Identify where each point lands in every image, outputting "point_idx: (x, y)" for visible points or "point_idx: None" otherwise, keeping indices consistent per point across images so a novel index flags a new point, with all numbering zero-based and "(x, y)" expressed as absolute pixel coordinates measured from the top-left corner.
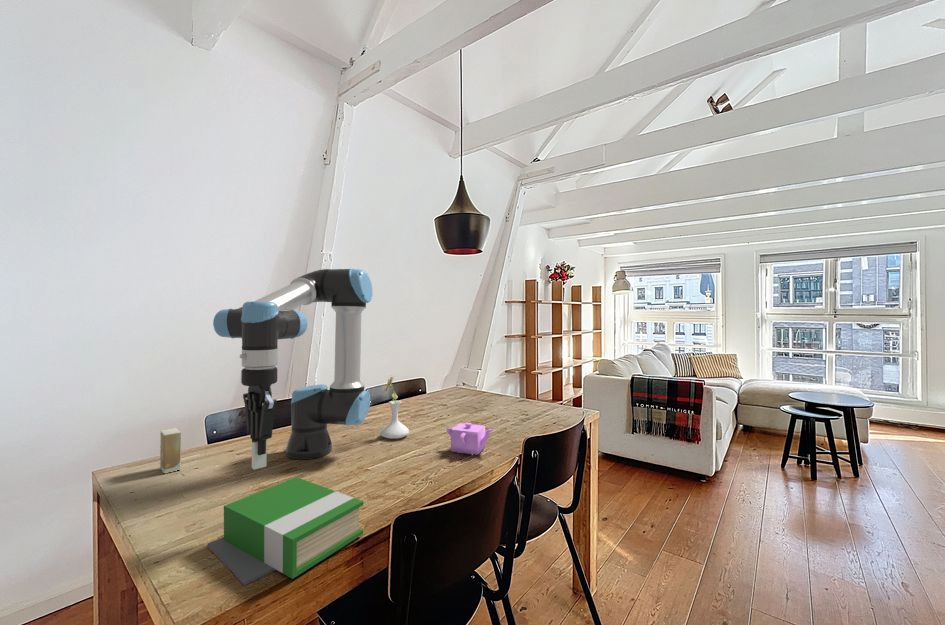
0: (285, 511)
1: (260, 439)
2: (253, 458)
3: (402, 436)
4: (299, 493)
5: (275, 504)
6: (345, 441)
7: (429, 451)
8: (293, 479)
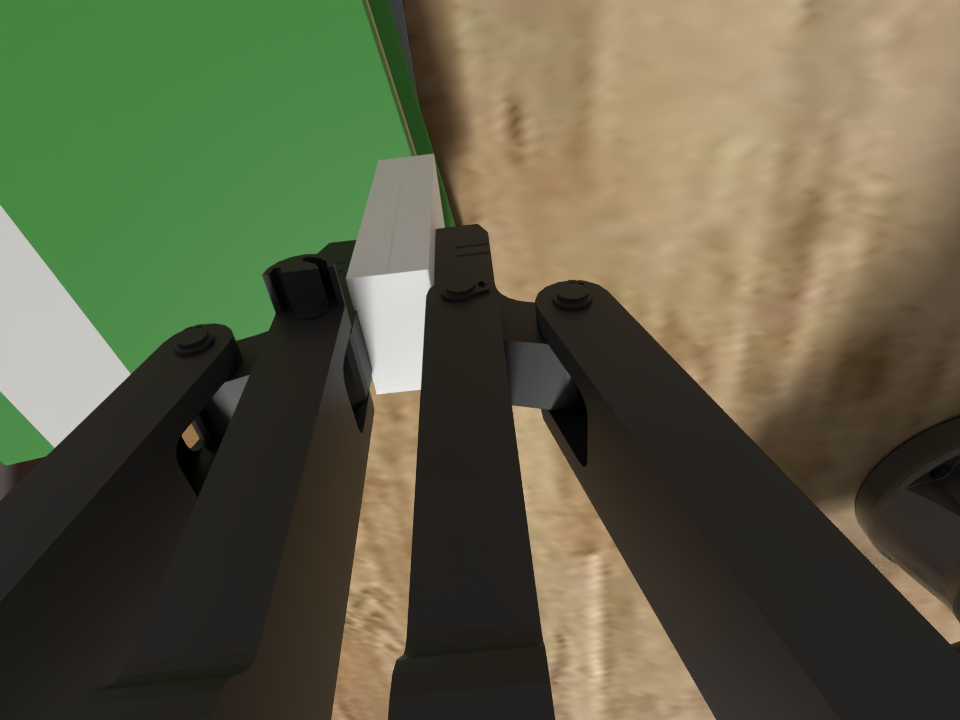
0: (24, 178)
1: (174, 337)
2: (390, 192)
3: None
4: (241, 304)
5: (154, 163)
6: (899, 590)
7: (556, 693)
8: None
